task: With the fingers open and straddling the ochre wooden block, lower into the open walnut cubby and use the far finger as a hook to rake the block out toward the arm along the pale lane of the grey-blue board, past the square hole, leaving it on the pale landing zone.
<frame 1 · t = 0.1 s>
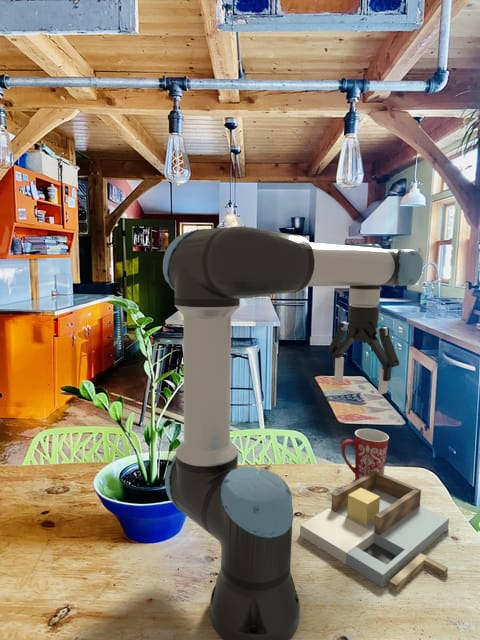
hand: (359, 387, 111), 28 cm above the table, fingers open, 13 cm apart
mug: (362, 481, 118), on the table
cubby: (376, 499, 100), on the board, point 4 cm above the table
board: (375, 531, 95), on the table
block: (362, 516, 97), point 2 cm above the table, touching board
crook tool: (408, 575, 82), on the table
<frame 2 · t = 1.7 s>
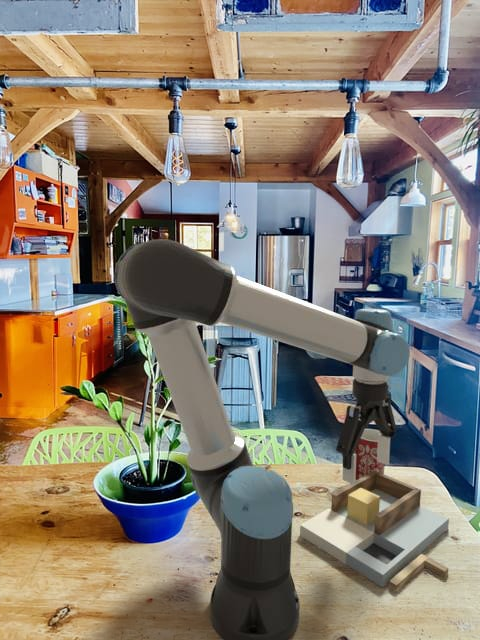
hand: (366, 471, 96), 13 cm above the table, fingers open, 13 cm apart
nothing on the table moved.
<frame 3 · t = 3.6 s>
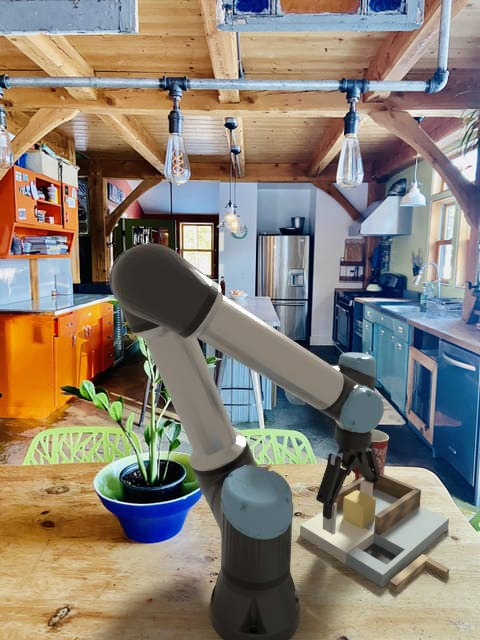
hand: (347, 519, 93), 4 cm above the table, fingers open, 13 cm apart
block: (358, 519, 96), point 3 cm above the table, touching gripper
everything else where it was.
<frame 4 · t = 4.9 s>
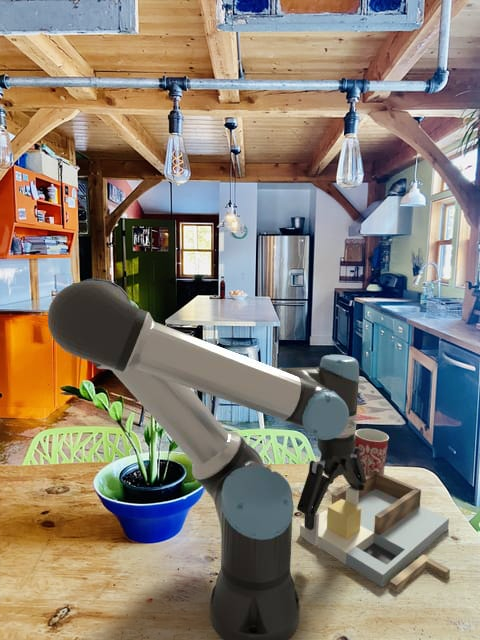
hand: (332, 528, 89), 4 cm above the table, fingers open, 13 cm apart
block: (343, 529, 92), point 2 cm above the table, touching board
everything else where it was.
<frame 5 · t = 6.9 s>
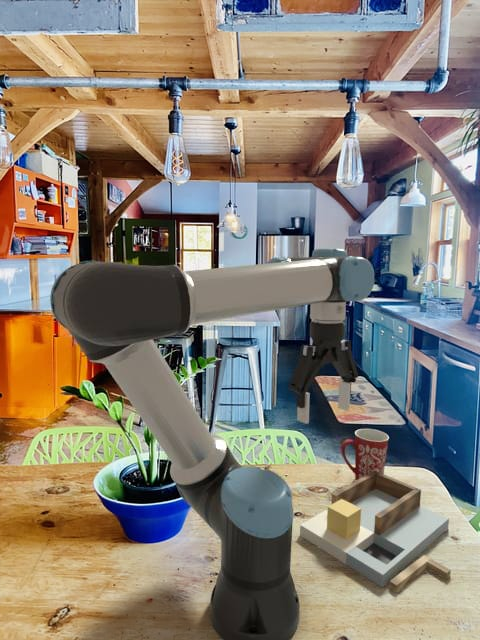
hand: (324, 415, 95), 26 cm above the table, fingers open, 13 cm apart
nothing on the table moved.
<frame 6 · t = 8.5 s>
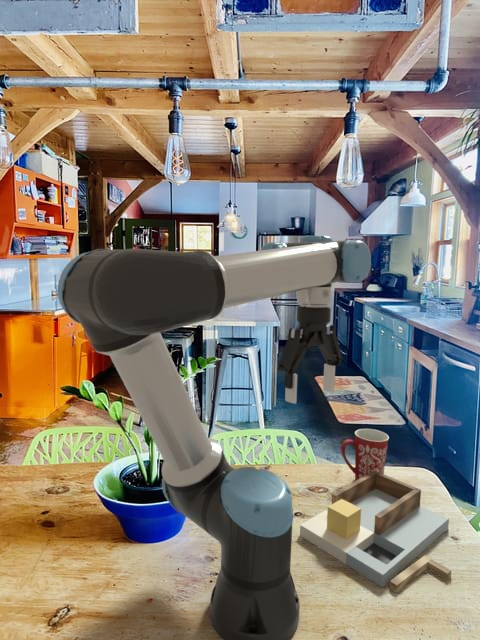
hand: (310, 396, 99), 29 cm above the table, fingers open, 13 cm apart
nothing on the table moved.
at the end: block inside the target area (1.1 cm from its centre), point 2.5 cm above the table; block tilted 0° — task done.
